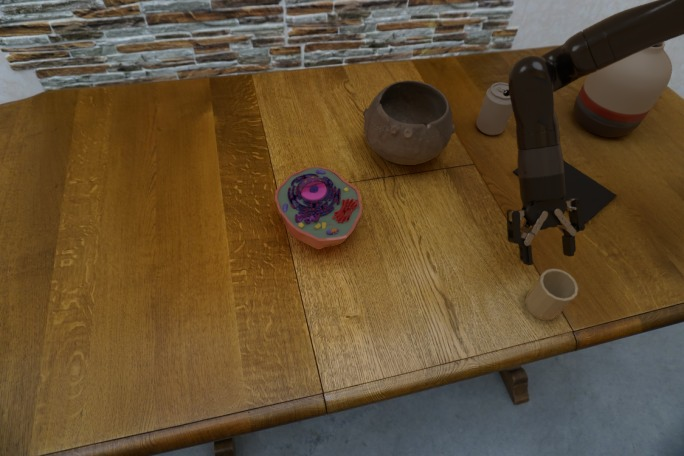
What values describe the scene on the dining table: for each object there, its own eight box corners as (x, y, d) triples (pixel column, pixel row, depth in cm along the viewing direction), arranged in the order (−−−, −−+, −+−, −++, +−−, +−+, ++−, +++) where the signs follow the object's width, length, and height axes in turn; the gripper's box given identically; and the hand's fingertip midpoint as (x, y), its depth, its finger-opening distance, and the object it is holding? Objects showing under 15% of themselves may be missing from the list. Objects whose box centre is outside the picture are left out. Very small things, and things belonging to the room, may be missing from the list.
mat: (615, 196, 107) (617, 195, 107) (584, 224, 102) (586, 222, 102) (544, 149, 116) (545, 148, 116) (512, 172, 111) (513, 170, 111)
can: (499, 141, 118) (514, 102, 108) (471, 130, 120) (484, 92, 110) (507, 124, 122) (523, 86, 112) (480, 115, 124) (493, 76, 114)
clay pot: (411, 112, 123) (420, 63, 111) (462, 160, 113) (479, 110, 101) (345, 139, 116) (347, 89, 104) (393, 193, 106) (402, 144, 94)
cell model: (297, 275, 92) (295, 242, 83) (269, 203, 103) (263, 167, 94) (374, 250, 96) (380, 216, 87) (339, 184, 107) (340, 147, 98)
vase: (567, 134, 120) (612, 52, 101) (569, 96, 130) (610, 15, 111) (635, 149, 117) (695, 68, 99) (632, 110, 127) (685, 29, 108)
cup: (566, 307, 89) (585, 286, 83) (546, 327, 87) (564, 307, 80) (538, 284, 92) (554, 262, 86) (517, 302, 90) (532, 281, 83)
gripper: (517, 179, 77) (526, 272, 80) (590, 166, 80) (597, 256, 82) (493, 178, 85) (502, 263, 87) (562, 166, 87) (568, 249, 90)
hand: (548, 259), depth 85 cm, fingers open, 8 cm apart
